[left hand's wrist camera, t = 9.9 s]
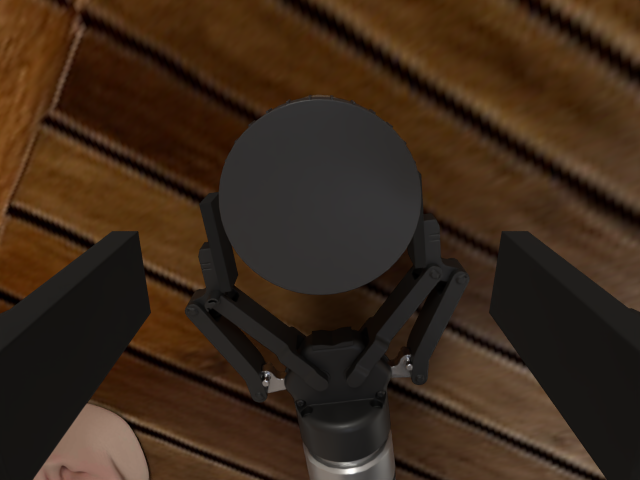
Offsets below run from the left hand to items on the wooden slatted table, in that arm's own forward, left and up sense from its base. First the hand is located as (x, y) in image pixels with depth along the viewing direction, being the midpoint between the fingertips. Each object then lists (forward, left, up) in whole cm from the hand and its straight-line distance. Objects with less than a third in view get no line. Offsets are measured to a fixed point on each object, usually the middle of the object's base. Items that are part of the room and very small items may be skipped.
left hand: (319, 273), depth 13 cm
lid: (0, 0, -8) cm, 8 cm away
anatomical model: (+7, +38, -23) cm, 45 cm away
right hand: (0, +2, -17) cm, 17 cm away
